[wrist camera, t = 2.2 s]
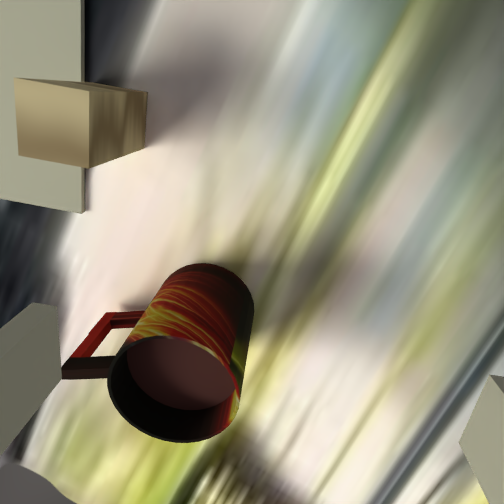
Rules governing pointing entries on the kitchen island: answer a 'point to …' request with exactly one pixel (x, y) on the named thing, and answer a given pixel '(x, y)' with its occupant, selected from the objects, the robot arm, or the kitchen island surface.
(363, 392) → the kitchen island surface
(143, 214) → the kitchen island surface
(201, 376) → the mug
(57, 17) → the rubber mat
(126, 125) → the maple block
